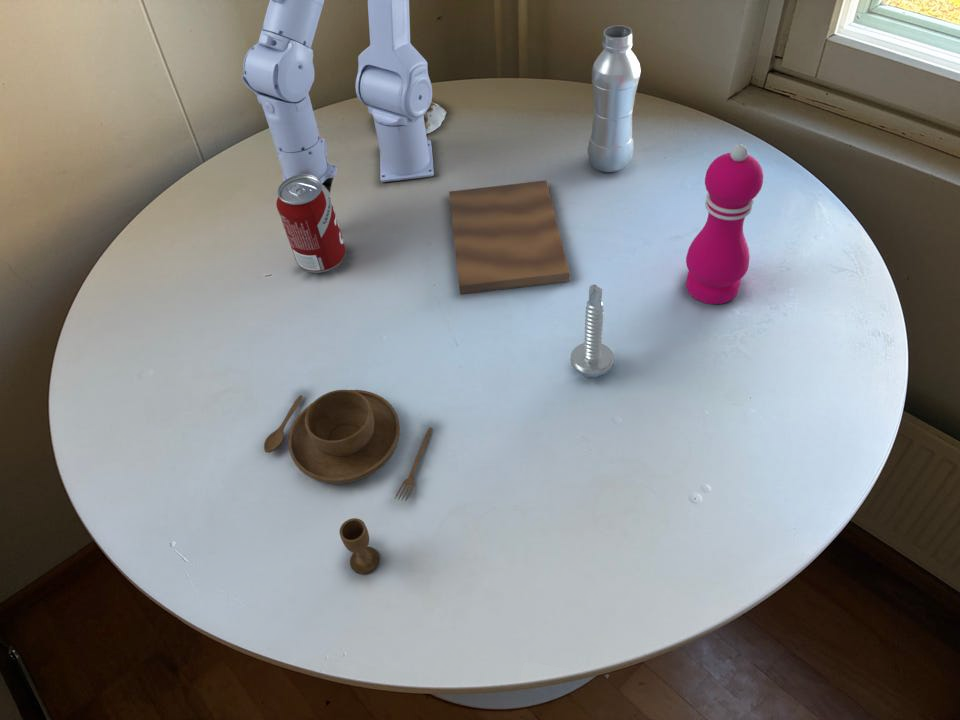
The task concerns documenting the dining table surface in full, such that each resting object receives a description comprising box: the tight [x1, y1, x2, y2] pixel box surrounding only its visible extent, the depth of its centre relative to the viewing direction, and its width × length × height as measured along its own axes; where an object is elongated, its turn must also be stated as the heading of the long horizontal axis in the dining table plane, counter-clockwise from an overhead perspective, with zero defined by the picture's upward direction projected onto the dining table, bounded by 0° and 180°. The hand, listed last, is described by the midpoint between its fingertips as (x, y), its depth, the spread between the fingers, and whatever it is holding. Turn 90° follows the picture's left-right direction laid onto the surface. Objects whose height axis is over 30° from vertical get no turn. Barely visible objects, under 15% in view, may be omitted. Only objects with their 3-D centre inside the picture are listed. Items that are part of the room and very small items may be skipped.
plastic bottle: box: [587, 25, 642, 173], centre depth 106 cm, size 6×7×20 cm
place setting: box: [263, 389, 433, 575], centre depth 78 cm, size 18×20×6 cm
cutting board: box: [448, 179, 571, 295], centre depth 103 cm, size 20×14×2 cm
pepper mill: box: [685, 143, 764, 305], centre depth 87 cm, size 7×7×20 cm
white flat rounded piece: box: [423, 98, 448, 135], centre depth 124 cm, size 12×12×4 cm
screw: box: [569, 284, 615, 379], centre depth 82 cm, size 13×5×5 cm
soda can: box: [275, 174, 347, 274], centre depth 99 cm, size 7×7×12 cm
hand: (321, 226), depth 106 cm, fingers closed
